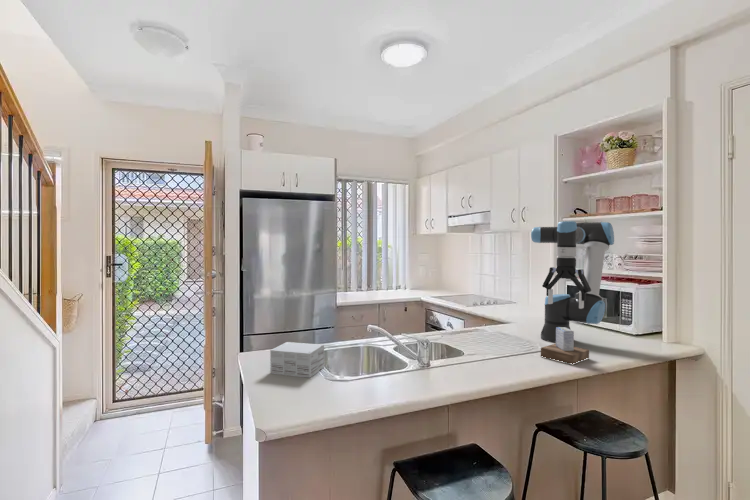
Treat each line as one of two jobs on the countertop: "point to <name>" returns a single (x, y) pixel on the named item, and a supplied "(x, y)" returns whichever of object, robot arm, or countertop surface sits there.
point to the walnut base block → (564, 354)
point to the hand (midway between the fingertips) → (565, 306)
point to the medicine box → (565, 339)
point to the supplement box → (297, 359)
